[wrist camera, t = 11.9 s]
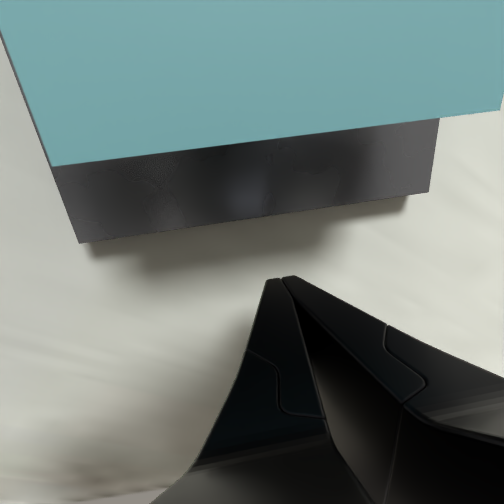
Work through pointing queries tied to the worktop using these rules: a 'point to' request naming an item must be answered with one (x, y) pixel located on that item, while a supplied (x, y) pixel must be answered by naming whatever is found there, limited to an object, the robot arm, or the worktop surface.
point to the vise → (243, 178)
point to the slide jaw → (245, 69)
